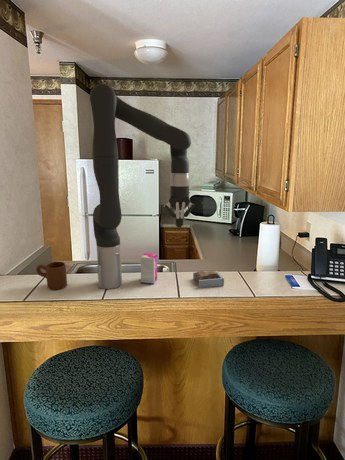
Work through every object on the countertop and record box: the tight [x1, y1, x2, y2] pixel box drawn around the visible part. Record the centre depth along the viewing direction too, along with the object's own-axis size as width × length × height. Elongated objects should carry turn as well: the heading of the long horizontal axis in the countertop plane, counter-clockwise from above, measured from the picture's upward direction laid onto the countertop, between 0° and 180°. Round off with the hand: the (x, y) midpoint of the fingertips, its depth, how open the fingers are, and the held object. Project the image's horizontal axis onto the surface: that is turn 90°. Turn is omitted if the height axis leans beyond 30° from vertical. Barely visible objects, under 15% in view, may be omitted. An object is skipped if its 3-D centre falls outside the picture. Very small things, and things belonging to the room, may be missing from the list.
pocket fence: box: [192, 270, 225, 289], centre depth 137 cm, size 10×9×3 cm
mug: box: [35, 261, 68, 291], centre depth 132 cm, size 12×8×9 cm, turn 83°
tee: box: [196, 270, 218, 283], centre depth 137 cm, size 8×6×4 cm
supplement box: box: [140, 252, 158, 285], centre depth 137 cm, size 6×6×12 cm
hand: (179, 227), depth 134 cm, fingers closed
